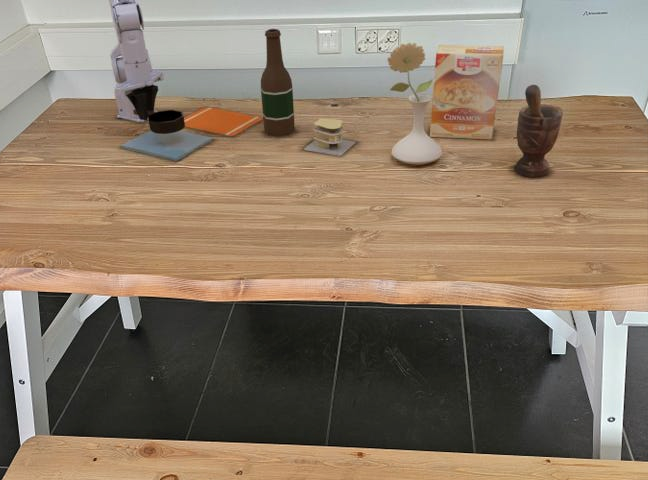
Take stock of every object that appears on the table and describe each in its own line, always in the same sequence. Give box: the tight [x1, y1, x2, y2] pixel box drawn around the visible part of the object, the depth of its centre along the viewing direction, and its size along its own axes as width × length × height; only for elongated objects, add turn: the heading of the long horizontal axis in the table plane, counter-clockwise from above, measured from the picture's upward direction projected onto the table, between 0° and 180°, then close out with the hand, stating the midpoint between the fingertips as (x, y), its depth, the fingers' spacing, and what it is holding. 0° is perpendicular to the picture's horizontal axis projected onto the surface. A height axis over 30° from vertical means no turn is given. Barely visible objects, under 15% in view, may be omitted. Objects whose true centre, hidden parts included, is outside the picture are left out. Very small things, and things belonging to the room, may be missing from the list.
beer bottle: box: [260, 28, 295, 138], centre depth 165 cm, size 8×8×24 cm
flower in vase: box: [387, 42, 443, 165], centre depth 149 cm, size 13×11×25 cm
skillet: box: [133, 109, 186, 134], centre depth 167 cm, size 14×8×3 cm, turn 57°
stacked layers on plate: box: [303, 117, 357, 157], centre depth 163 cm, size 10×9×6 cm
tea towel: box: [184, 106, 263, 137], centre depth 181 cm, size 20×14×1 cm
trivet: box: [120, 129, 214, 162], centre depth 170 cm, size 18×14×1 cm
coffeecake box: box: [429, 44, 505, 141], centre depth 161 cm, size 15×7×20 cm, turn 76°
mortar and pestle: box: [513, 84, 564, 178], centre depth 141 cm, size 12×9×20 cm
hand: (146, 118), depth 169 cm, fingers closed on skillet, 2 cm apart
